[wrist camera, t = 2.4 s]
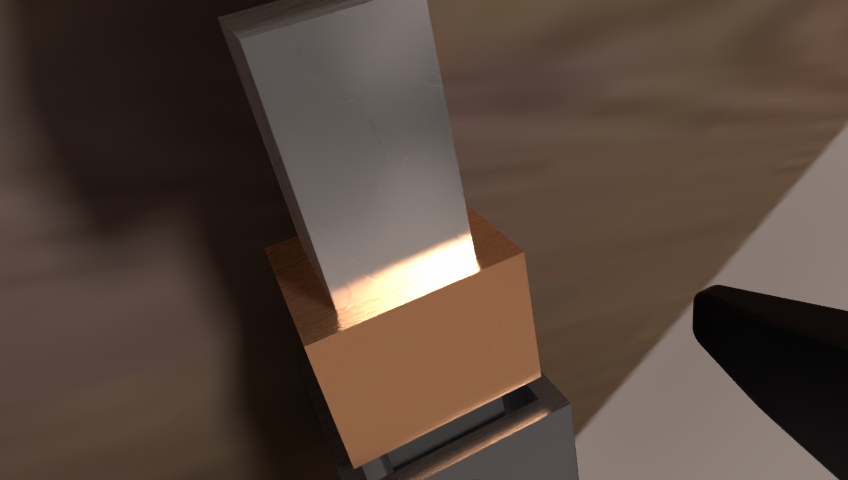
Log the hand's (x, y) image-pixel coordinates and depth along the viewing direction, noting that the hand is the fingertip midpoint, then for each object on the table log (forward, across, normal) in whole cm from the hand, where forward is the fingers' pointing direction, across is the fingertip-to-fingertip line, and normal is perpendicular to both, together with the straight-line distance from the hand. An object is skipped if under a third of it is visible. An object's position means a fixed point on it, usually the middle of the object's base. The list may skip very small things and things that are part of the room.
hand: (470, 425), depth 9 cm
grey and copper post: (+5, 0, 0) cm, 5 cm away
